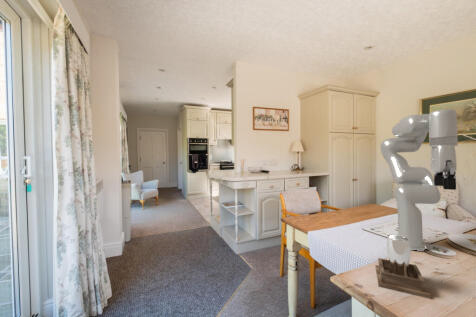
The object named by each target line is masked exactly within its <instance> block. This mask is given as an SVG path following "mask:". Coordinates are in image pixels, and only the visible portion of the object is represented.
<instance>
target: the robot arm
mask: <svg viewBox="0 0 476 317" xmlns="http://www.w3.org/2000/svg"><path fill="white" fill-rule="evenodd" d="M457 121H458V117H457V111H456V110H455V109H453V108H445V109H437V110H433V111H431V112H429V113H422V114H411V115H407V116H405V117H402V118H401V119H400V120H399V122H398V123H396V124H395V125H394V126H392V129H391V133H392V135H393V136H394V137H391V138H387V139H384V140H382V141H381V143H380V152H381V154H382V157H383V159H384V160H385V161H386V163H387V164H388V167H389V171H390V174H391V177H392V179H393V181H394V182H395V183H396V184H397V186H396V187H395V188H394V195H395V200H396V207H397V209H396V210H397V227H398V228H397V230H398V231H397V235H400V236H404V237H407V238H408V239H409V240H410V248H411V251H413V250H417V251H416V252H425V251H426V250H425V248H424V247H425V246H427V245H426V244H425V243H424V240H423V238H424V237H423V215H422V214H423V213H422V211H421V209H420V208H418V207H417V204H421V205H422V204H423V205H424V204H427V205H431V204H433V205H434V204H438V203H439V202H440V201H441V193H440V190H439V188H438V187H442V188H443V189H444V190H451V191H452V190H453V191H455V190H457V175H456V173H457V172H456V171H457V155H456V147H457V146H458V142H459V141H458V122H457ZM427 135H428V136H429V137H428V138H429V139H428V140H429V148H431V150H430V151H431V152H430V170H429V169H428V168H426V167H422V166H410V165H409V162H408V160H407V159H406V158H405V157H404V156H402V155H400V154H401V153H414V152H417V151H419V150H420V148H421V147H422V144H423V143H424V141H425V139H426V137H427ZM399 153H400V154H399ZM431 171H432V172H433V175H432V173H431ZM424 250H425V251H424Z"/></svg>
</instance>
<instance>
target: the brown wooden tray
mask: <svg viewBox="0 0 476 317" xmlns="http://www.w3.org/2000/svg"><path fill="white" fill-rule="evenodd" d="M377 259H378V261H377V262H378V264H375V272H376V278H377V283H378V287H380V288H383V289H388V290H392V291H396V292H401V293H404V294H409V295H411V296H412V295H413V296H418V297H422V298H424V299H428V300H429V299H430V300H431V299H432V298H431V293H430V291H429V290H428V287H427V285H426V280H425V279H424V277H423V275H422V274H421V272H420V270H419V269H420V268H418V266H417V265H416V264H413V263H409V268H408V272H409V277H406V276H401V275H396V274H391V273H390V261H389V259H385V258H381V257H380V258H379V257H378V258H377Z"/></svg>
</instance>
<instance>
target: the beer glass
mask: <svg viewBox="0 0 476 317" xmlns="http://www.w3.org/2000/svg"><path fill="white" fill-rule="evenodd" d="M386 252H387V255H388V260H389V261H390V273H391V274H396V275H401V276H406V277H409V272H408V268H409V264H411V263H410V262H411V255H412V253H411V252H412V250H411V248H410V240H409V239H408V238H407V237H404V236H400V235H398V234H389V235H387V238H386Z"/></svg>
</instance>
